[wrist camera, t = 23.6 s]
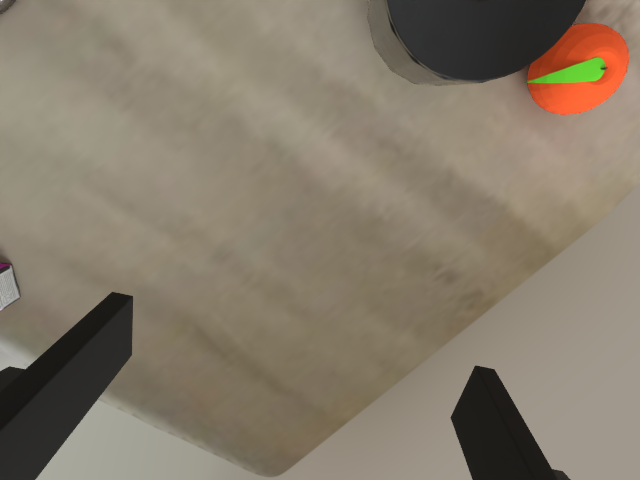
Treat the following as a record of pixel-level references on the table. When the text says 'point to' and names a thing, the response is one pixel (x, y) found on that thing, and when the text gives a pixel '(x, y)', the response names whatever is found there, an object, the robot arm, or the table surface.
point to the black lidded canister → (466, 36)
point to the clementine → (579, 69)
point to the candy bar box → (7, 286)
